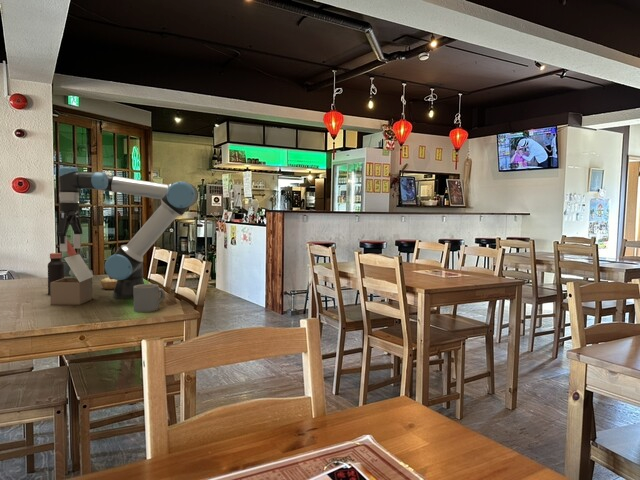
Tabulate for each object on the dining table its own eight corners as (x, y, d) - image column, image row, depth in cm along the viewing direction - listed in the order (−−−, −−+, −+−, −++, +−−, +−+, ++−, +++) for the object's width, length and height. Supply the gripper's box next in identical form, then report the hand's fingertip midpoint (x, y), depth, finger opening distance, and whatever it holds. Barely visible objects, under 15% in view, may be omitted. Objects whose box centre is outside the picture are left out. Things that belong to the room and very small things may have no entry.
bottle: (64, 292, 224) (63, 252, 223) (64, 295, 218) (63, 253, 217) (48, 293, 220) (47, 253, 219) (48, 296, 215) (47, 254, 213)
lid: (92, 277, 210) (96, 275, 210) (79, 282, 196) (83, 280, 196) (69, 240, 208) (72, 237, 208) (54, 242, 193) (58, 240, 194)
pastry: (99, 291, 231) (98, 274, 230) (103, 287, 242) (102, 270, 241) (124, 290, 234) (123, 273, 233) (127, 285, 245) (126, 269, 245)
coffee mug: (138, 313, 184) (138, 288, 183) (130, 308, 191) (130, 285, 191) (170, 308, 192) (170, 285, 192) (161, 304, 200) (161, 282, 199)
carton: (92, 298, 211) (92, 277, 210) (79, 305, 197) (79, 282, 196) (65, 298, 209) (64, 277, 209) (50, 305, 195) (50, 282, 195)
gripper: (72, 202, 212) (73, 247, 213) (46, 201, 187) (47, 252, 188) (89, 202, 212) (90, 247, 214) (65, 202, 188) (66, 252, 189)
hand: (70, 249), depth 201 cm, fingers open, 13 cm apart
